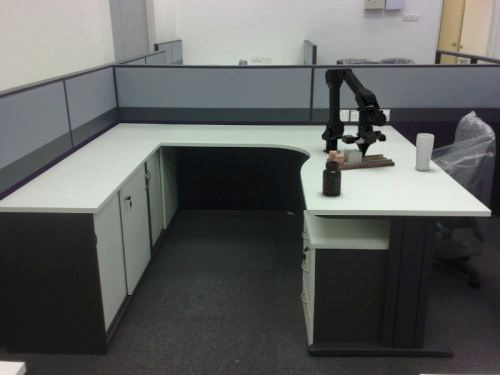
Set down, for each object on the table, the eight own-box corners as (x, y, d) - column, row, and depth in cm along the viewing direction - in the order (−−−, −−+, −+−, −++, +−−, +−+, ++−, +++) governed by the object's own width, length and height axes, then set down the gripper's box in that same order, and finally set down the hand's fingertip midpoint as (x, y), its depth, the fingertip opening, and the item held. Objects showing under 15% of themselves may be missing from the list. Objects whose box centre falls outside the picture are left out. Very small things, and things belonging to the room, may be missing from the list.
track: (326, 161, 213) (327, 150, 211) (379, 157, 218) (380, 146, 216) (338, 170, 200) (339, 158, 198) (394, 165, 205) (395, 153, 203)
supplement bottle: (338, 190, 176) (340, 159, 173) (342, 196, 170) (344, 164, 166) (320, 190, 176) (321, 160, 172) (323, 197, 170) (324, 165, 166)
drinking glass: (419, 172, 195) (423, 137, 190) (410, 168, 201) (413, 134, 196) (433, 171, 197) (437, 136, 192) (424, 166, 203) (427, 132, 198)
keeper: (343, 159, 210) (343, 149, 208) (355, 158, 211) (356, 149, 209) (348, 163, 204) (349, 153, 203) (361, 162, 205) (362, 152, 204)
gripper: (352, 127, 194) (350, 163, 199) (393, 124, 197) (390, 160, 202) (342, 122, 204) (340, 156, 209) (381, 119, 208) (378, 153, 213)
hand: (362, 157), depth 208 cm, fingers closed
